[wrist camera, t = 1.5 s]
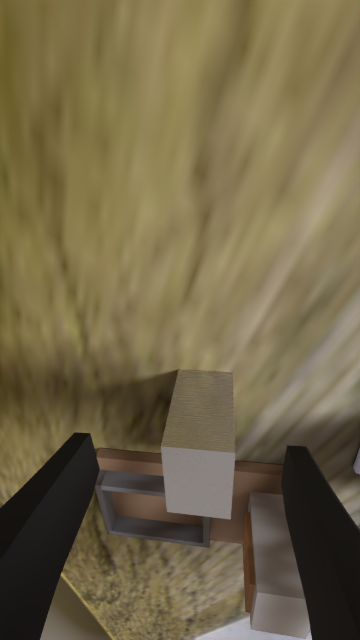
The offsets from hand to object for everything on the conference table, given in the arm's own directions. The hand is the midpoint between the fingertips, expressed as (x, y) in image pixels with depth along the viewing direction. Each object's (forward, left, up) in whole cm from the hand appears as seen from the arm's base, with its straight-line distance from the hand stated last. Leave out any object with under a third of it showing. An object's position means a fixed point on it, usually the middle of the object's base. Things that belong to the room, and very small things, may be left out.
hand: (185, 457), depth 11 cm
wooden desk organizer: (0, +19, -11) cm, 22 cm away
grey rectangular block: (0, +7, -11) cm, 13 cm away
